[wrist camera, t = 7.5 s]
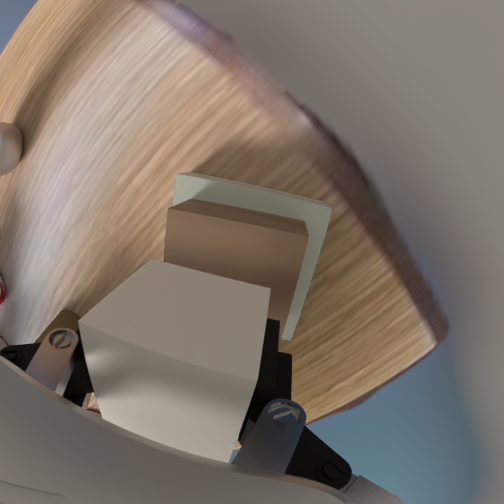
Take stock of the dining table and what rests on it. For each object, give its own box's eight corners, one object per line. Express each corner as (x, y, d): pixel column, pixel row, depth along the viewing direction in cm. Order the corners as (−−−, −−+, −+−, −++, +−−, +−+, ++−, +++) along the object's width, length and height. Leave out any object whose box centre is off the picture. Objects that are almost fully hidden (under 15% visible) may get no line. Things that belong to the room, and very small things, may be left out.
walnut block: (279, 320, 21) (277, 352, 17) (181, 297, 22) (161, 324, 18) (304, 220, 18) (309, 236, 15) (190, 198, 19) (168, 208, 15)
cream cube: (246, 376, 12) (227, 463, 8) (149, 349, 13) (103, 420, 8) (270, 288, 11) (257, 380, 6) (151, 258, 11) (78, 320, 6)
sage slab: (290, 318, 25) (290, 340, 22) (176, 289, 25) (162, 307, 22) (325, 201, 21) (332, 208, 18) (192, 171, 22) (176, 173, 18)
